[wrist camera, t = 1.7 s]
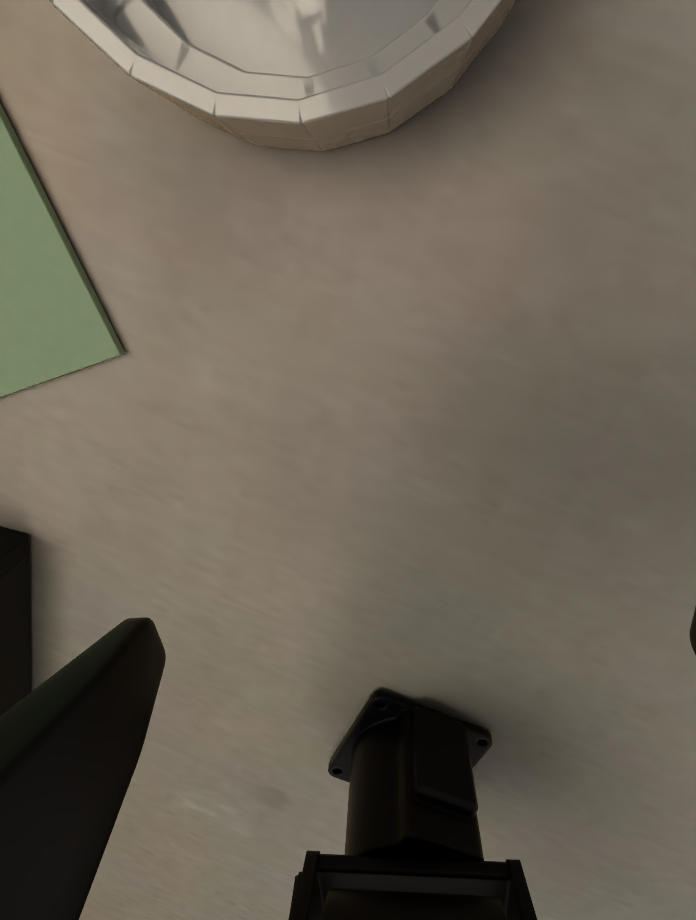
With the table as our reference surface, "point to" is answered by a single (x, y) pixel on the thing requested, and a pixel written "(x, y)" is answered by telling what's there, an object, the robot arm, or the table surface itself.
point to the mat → (41, 284)
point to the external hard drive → (14, 618)
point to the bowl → (293, 59)
